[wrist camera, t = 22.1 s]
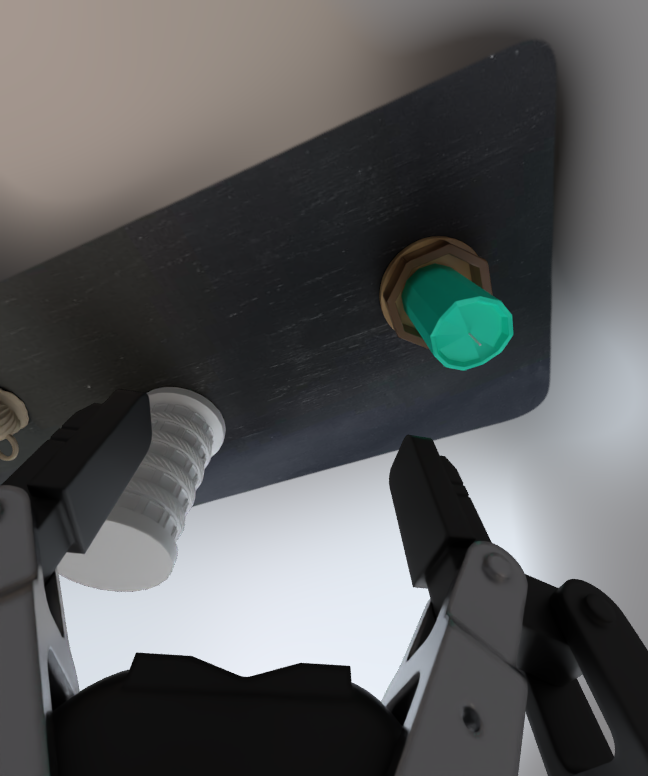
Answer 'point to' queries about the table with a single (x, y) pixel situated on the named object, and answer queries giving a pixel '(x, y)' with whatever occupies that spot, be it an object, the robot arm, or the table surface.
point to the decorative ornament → (11, 420)
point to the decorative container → (153, 498)
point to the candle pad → (420, 256)
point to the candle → (456, 317)
